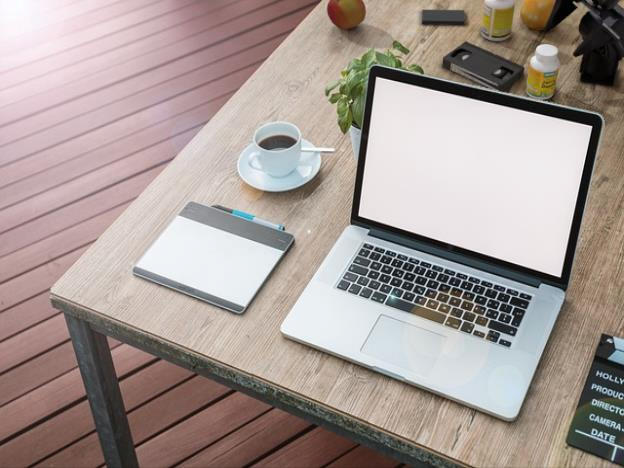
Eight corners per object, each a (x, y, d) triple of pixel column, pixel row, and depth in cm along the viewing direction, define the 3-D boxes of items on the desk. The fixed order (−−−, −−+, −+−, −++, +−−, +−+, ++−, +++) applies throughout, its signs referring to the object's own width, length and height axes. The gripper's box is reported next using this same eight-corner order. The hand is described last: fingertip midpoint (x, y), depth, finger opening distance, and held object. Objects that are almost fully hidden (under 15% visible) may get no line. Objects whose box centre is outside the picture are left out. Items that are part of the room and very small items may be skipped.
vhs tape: (441, 66, 170) (441, 57, 168) (464, 49, 173) (465, 41, 172) (499, 93, 162) (501, 85, 161) (523, 75, 166) (524, 67, 165)
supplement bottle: (539, 81, 165) (547, 38, 158) (559, 94, 161) (568, 51, 155) (519, 90, 163) (526, 48, 156) (539, 104, 160) (547, 61, 153)
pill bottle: (515, 31, 178) (522, -17, 170) (503, 45, 174) (510, -3, 166) (488, 23, 180) (493, -25, 172) (475, 37, 176) (481, -11, 169)
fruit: (540, -2, 182) (535, -23, 175) (571, 14, 178) (567, -7, 171) (516, 27, 182) (510, 7, 175) (546, 44, 178) (541, 24, 171)
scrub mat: (463, 13, 183) (464, 10, 183) (464, 24, 180) (464, 21, 180) (422, 12, 184) (422, 9, 184) (422, 23, 181) (422, 20, 180)
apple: (341, 14, 185) (340, -20, 179) (372, 24, 182) (372, -10, 176) (321, 29, 181) (320, -4, 175) (352, 40, 177) (352, 6, 172)
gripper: (569, -71, 151) (509, -1, 156) (635, -24, 138) (567, 50, 144) (598, -40, 158) (539, 26, 164) (663, 6, 146) (597, 76, 151)
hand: (559, 43), depth 155 cm, fingers open, 9 cm apart
